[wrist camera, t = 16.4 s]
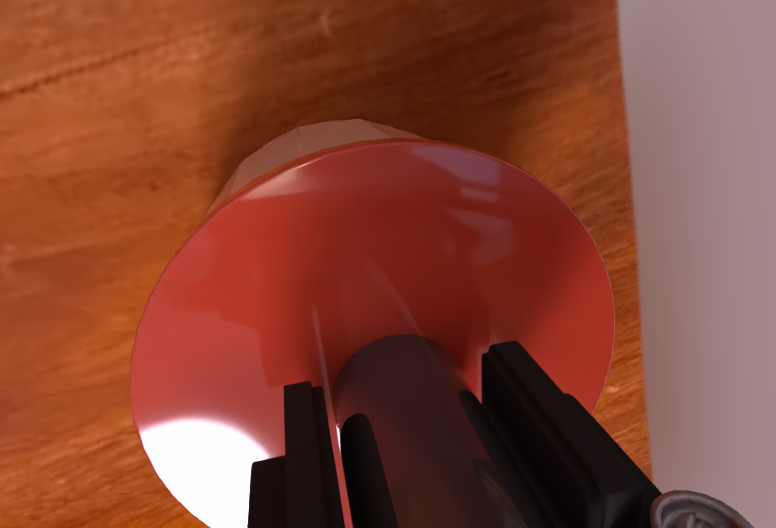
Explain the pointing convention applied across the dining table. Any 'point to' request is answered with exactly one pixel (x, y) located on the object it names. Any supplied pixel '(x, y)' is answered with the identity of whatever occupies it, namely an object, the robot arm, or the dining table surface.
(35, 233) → the dining table surface
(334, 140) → the pot
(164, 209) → the dining table surface
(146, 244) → the dining table surface
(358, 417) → the pot lid
